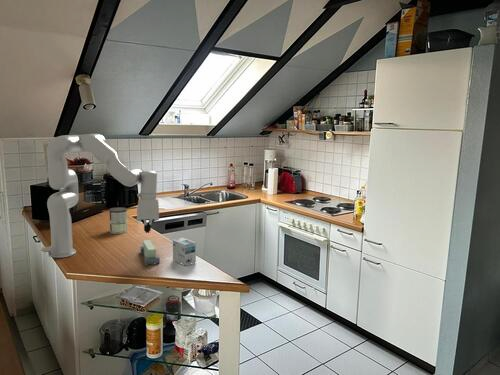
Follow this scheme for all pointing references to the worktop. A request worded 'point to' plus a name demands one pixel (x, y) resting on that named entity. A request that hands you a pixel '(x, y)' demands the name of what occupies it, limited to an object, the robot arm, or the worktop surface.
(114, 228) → the coffee can
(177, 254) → the light bulb box
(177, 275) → the worktop surface
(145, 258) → the end caps
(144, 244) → the slat
